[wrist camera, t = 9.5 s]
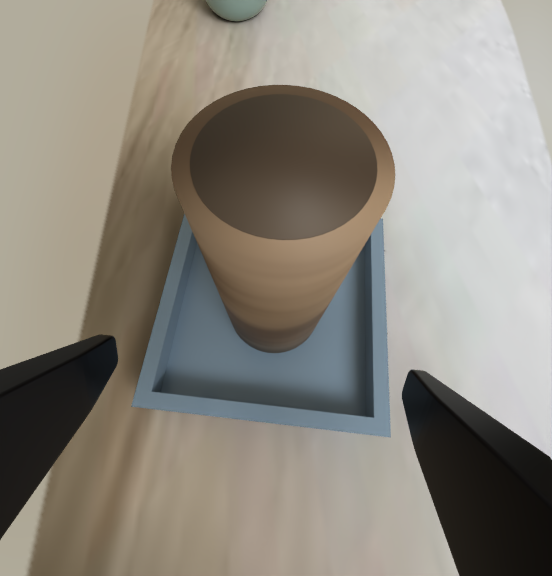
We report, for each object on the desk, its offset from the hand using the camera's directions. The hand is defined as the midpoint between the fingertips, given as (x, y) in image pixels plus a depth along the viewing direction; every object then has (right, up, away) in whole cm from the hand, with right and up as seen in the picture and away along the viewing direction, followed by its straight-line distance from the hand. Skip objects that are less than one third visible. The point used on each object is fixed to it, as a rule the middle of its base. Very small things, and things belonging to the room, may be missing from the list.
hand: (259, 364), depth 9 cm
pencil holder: (0, +1, +9) cm, 9 cm away
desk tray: (0, +1, +10) cm, 10 cm away
